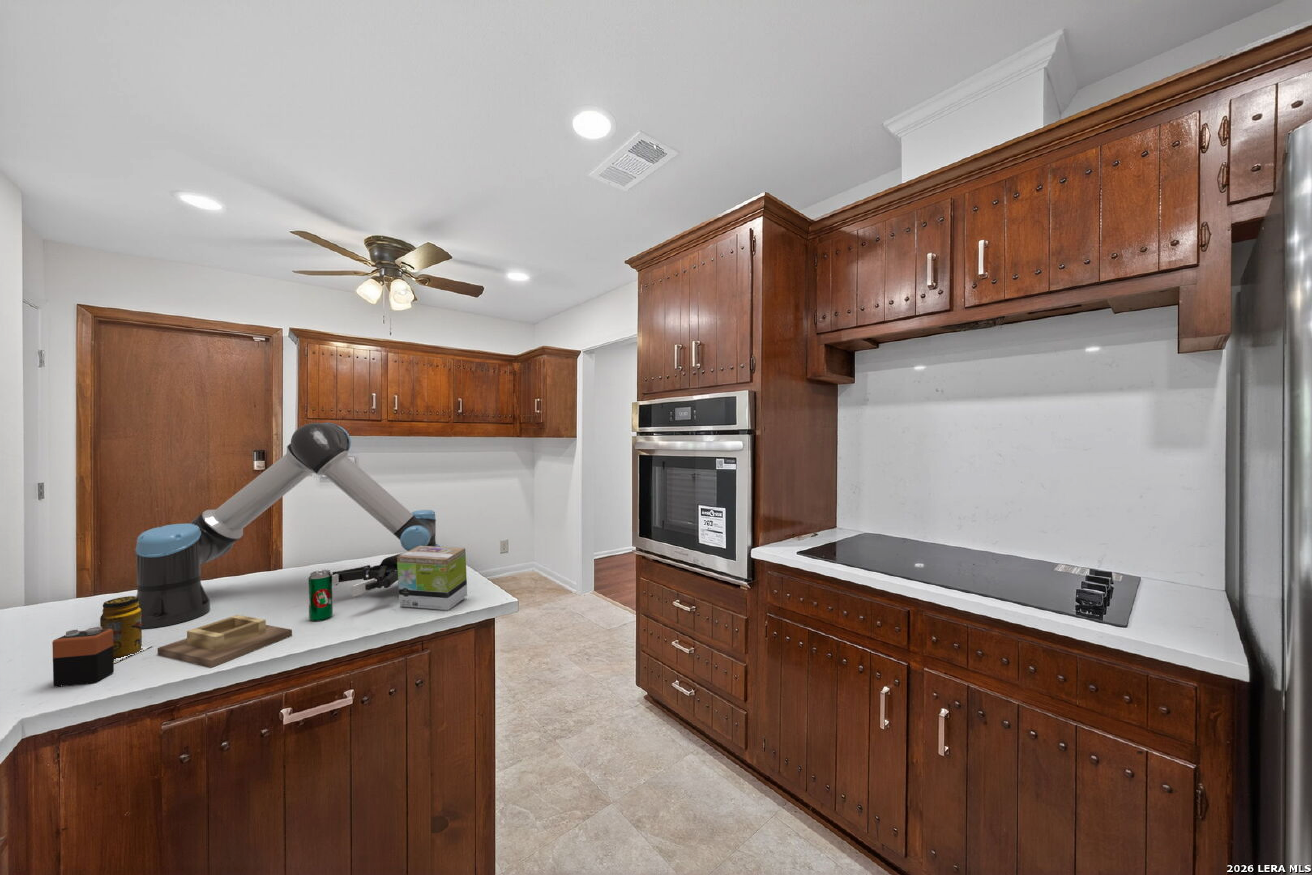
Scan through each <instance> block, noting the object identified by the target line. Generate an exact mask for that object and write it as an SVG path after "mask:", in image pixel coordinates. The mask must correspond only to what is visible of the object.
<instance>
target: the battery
mask: <svg viewBox="0 0 1312 875" xmlns="http://www.w3.org/2000/svg"><path fill="white" fill-rule="evenodd" d="M51 645H52V678H53V679H52V681H53V682H52V683H53V687H55V686H58V687H64V686H63V685H69V686H74V685H73V684H79V685H87V684H86V683H89V684H96V683H97V681H98V682H99V681H101V680H103V679H105V678H106V677H109V676H110V675H111V674H113V673H114V671H115V667H114V666H115V664H114V653H113V629H102V627H100V626H94V627H90V628H87V629H85V630H79V629H70V630H68V631H66V632H65V635H62V636H59V637H58V638H56V639H54V640H52V644H51ZM104 677H105V678H104ZM95 682H96V683H95ZM61 685H62V686H61Z"/></svg>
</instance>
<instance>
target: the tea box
mask: <svg viewBox="0 0 1312 875" xmlns="http://www.w3.org/2000/svg"><path fill="white" fill-rule="evenodd" d="M405 552H406V551H405ZM397 568H398V580H397V583H398V598H399V599H398V600H399V607H400V608H404V607H405V608H420V609H430V610H439V611H441V610H442V611H450V610H451V609H453V607H455V606H456V605H457V604H458V603H460V602H462V600H464V599H465V598H466V597H467V596H468V582H467V580H468V578H467V559H466V547H451V546H450V547H448V546H440V547H435V546H417V547H415V548H414V549H412V550H410V551H408V552H406V553H404V554H402V555H400V556H397Z"/></svg>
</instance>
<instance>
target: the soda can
mask: <svg viewBox="0 0 1312 875" xmlns="http://www.w3.org/2000/svg"><path fill="white" fill-rule="evenodd" d="M307 579H308V619H309V620H311V621H312V620H313V621H312V622H318V621H317V620H322V621H326V620H328V619H330V618H331V617H332V616H333V614H334V611H333V609H334V606H333V604H334V602H333V586H332V573H331V570H330V569H322V570H321V569H320V570H315V571H313V572H310V574H309V577H308V578H307ZM329 617H330V618H329ZM327 618H328V619H327Z"/></svg>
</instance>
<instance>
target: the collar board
mask: <svg viewBox="0 0 1312 875" xmlns="http://www.w3.org/2000/svg"><path fill="white" fill-rule="evenodd" d="M290 636H291V637H292V636H293V629H290V628H285V627H279V626H276V625H275V626H274V625H268V624H266V619H262V618H256V617H252V616H246V615H242V614H241V615H239V614H236V615H233V616H230V617H227V618H223V619H221V620H217V621H214V622H211V623H207V624H204V625H202V626H199V627H196V628H192V629H189V630H187V631H186V638H183V639H180V640H177V641H174V642H170V643H169V644H165V645H163V646H159V647H157V649H156V650H157V655H158V654H159V655H158V656H161V655H162V656H161V657H165V658H169V659H173V660H174V659H175V660H177V659H178V660H179V661H182V660H183V661H182V662H188V663H191V664H194V663H195V665H198V666H204V667H208V668H210V669H211V668H214V667H216V666H219V665H222V664H224V663H227V662H230V661H232V660H234V659H237V658H239V657H242V656H245V655H248V654H250V653H252V652H255V651H257V650H260V649H263V648H265V647H268V646H269V645H270V646H271V645H273V644H275V643H278V642H280V641H282V640H284V639H288V638H290ZM287 637H288V638H287ZM274 642H275V643H274ZM272 643H273V644H272ZM264 646H265V647H264ZM262 647H263V648H262ZM254 650H255V651H254Z"/></svg>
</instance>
